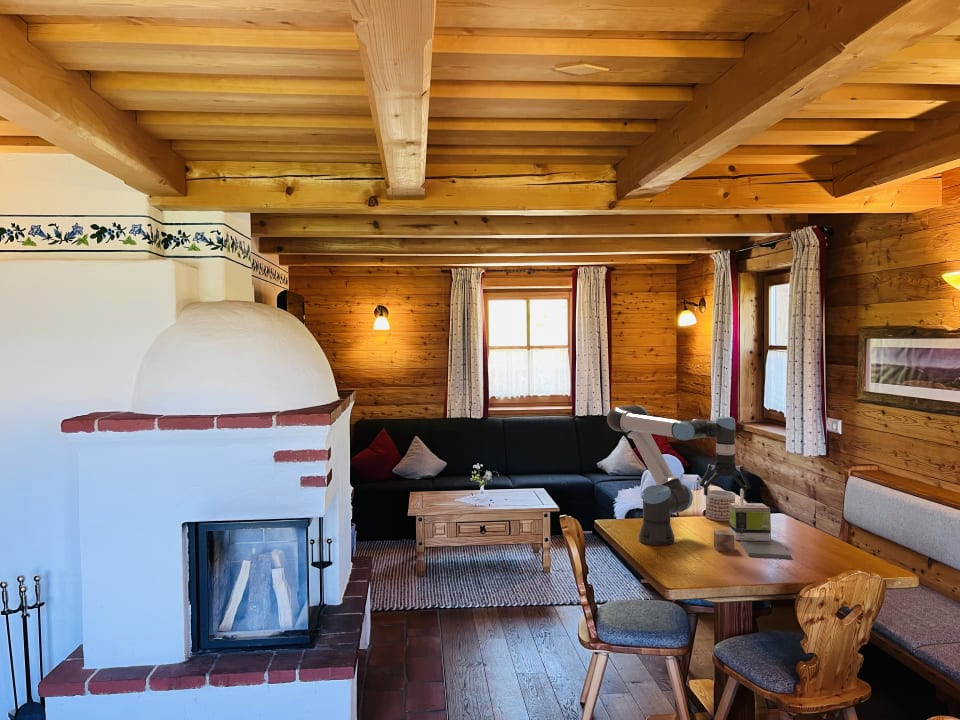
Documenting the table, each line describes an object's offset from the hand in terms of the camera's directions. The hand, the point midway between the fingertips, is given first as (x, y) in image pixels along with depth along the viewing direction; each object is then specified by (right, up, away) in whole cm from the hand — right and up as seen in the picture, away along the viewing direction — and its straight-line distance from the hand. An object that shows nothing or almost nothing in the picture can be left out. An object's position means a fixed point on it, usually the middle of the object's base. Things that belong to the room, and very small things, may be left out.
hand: (724, 504), depth 273 cm
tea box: (+17, -19, +16) cm, 30 cm away
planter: (+17, -18, +50) cm, 56 cm away
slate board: (+15, -19, -4) cm, 24 cm away
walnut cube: (0, -19, 0) cm, 19 cm away
